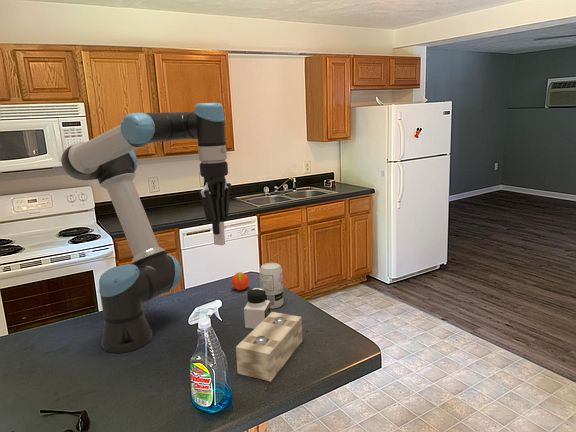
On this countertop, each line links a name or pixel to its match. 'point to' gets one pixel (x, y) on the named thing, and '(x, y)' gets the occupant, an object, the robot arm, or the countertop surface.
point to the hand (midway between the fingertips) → (219, 244)
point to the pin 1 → (261, 340)
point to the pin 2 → (280, 320)
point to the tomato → (240, 281)
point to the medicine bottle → (256, 308)
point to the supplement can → (272, 283)
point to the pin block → (269, 347)
